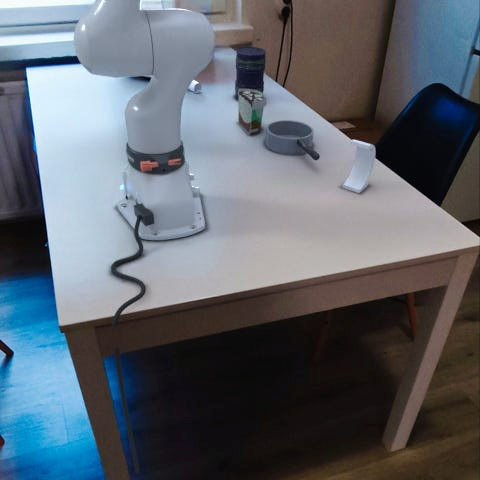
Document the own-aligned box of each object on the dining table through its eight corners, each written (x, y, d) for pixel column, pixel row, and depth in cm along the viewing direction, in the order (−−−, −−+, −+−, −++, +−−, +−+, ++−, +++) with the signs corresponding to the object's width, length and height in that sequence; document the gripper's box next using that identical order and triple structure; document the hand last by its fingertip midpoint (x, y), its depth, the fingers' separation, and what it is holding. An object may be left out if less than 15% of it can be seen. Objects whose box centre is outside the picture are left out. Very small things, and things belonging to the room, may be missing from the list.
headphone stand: (341, 187, 121) (350, 140, 113) (352, 178, 124) (361, 132, 117) (359, 193, 119) (369, 146, 111) (369, 184, 122) (379, 137, 115)
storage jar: (247, 104, 162) (250, 46, 151) (228, 96, 168) (229, 39, 157) (269, 98, 168) (273, 41, 156) (250, 90, 173) (252, 35, 162)
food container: (271, 135, 144) (273, 100, 138) (251, 137, 142) (253, 102, 136) (255, 119, 153) (257, 86, 146) (236, 121, 151) (237, 88, 145)
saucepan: (319, 151, 136) (322, 135, 133) (276, 157, 132) (277, 141, 130) (299, 133, 146) (301, 118, 143) (258, 138, 142) (259, 122, 139)
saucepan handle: (320, 161, 125) (321, 154, 124) (314, 162, 125) (315, 155, 124) (300, 142, 134) (301, 136, 133) (294, 143, 133) (295, 137, 132)
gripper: (155, 45, 114) (213, 47, 117) (146, 29, 129) (198, 31, 133) (155, 74, 117) (212, 75, 121) (146, 54, 133) (197, 56, 136)
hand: (204, 52), depth 127 cm, fingers closed
